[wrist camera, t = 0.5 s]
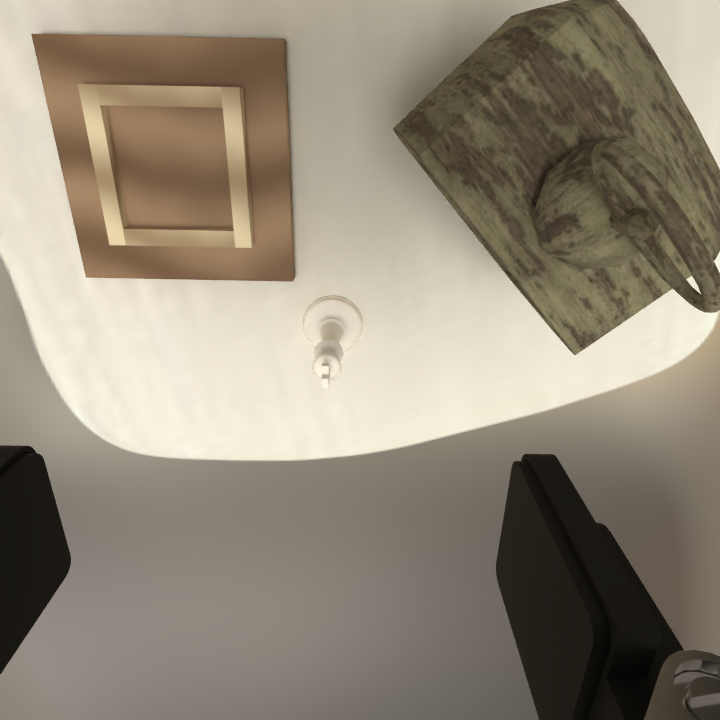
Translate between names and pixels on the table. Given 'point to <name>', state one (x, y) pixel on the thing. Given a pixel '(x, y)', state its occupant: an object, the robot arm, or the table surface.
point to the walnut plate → (173, 153)
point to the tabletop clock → (576, 167)
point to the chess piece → (331, 333)
